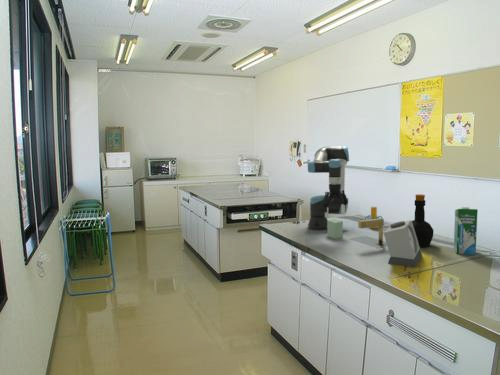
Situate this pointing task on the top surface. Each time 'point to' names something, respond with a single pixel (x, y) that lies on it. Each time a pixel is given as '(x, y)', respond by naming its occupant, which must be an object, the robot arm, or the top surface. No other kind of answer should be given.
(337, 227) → the pale green block
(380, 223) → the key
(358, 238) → the plate
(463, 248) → the milk carton
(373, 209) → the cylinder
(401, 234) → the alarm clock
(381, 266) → the top surface
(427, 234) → the bottle
